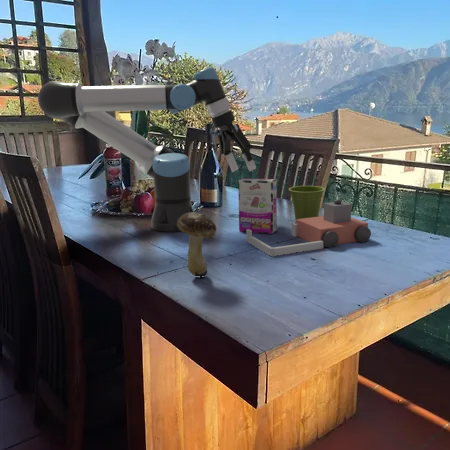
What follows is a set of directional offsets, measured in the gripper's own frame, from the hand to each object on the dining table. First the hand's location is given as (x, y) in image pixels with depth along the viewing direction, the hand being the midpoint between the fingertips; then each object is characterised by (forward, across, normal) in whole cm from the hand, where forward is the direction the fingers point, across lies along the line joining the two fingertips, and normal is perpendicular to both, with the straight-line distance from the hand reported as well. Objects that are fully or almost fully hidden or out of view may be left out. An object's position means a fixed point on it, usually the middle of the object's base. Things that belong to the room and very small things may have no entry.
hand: (243, 170), depth 161 cm
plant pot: (+22, -18, -6) cm, 29 cm away
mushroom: (+8, -49, +44) cm, 66 cm away
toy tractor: (+20, -37, +7) cm, 43 cm away
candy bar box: (+16, -21, +13) cm, 29 cm away
